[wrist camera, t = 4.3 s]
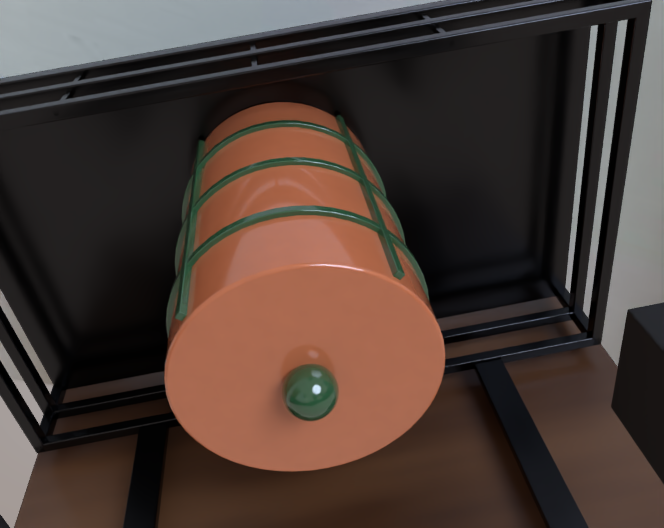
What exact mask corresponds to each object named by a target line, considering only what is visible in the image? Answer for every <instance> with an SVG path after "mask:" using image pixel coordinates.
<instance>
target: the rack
mask: <svg viewBox="0 0 664 528" xmlns="http://www.w3.org/2000/svg"><path fill="white" fill-rule="evenodd" d="M559 308H563V306H562V305H561V304H560V302H559V301H558V299H557V298H556V296H555V297H550V298H545V299H539V300H534V301H529V302H524V303H518V304H513V305H508V306H503V307H498V308H492V309H487V310H482V311H477V312H471V313H466V314H461V315H456V316H450V317H445V318H440V319H437V321H438V324H439V326H440V329H441V331H444V330H449V329H454V328H460V327H465V326H470V325H475V324H480V323H486V322H491V321H496V320H501V319H507V318H512V317H517V316H522V315H527V314H533V313H538V312H543V311H548V310H554V309H559ZM579 333H581V332H580V330H579V329H578V327H577V326H576V325H575V323H574V322H573V320H570V321H565V322H560V323H555V324H549V325H544V326H539V327H534V328H529V329H523V330H518V331H513V332H508V333H503V334H497V335H492V336H487V337H482V338H476V339H471V340H466V341H461V342H456V343H450V344H445V352H446V354H445V359H449V358H454V357H460V356H465V355H470V354H475V353H480V352H486V351H491V350H496V349H501V348H506V347H511V346H517V345H522V344H527V343H532V342H537V341H543V340H548V339H553V338H558V337H563V336H569V335H574V334H579ZM504 365H505V367H506V369H507V371H508V373H509V375H510V377H511V379H512V380H513V382H514V384H515V386H516V388H517V390H518V392H519V394H520V396H521V398H522V400H523V402H524V404H525V406H526V407H527V409H528V411H529V413H530V415H531V417H532V419H533V421H534V423H535V425H536V427H537V429H538V431H539V433H540V434H541V436H542V438H543V440H544V442H545V444H546V446H547V448H548V450H549V452H550V454H551V456H552V458H553V460H554V461H555V463H556V465H557V467H558V469H559V471H560V473H561V475H562V477H563V479H564V481H565V483H566V485H567V487H568V488H569V490H570V492H571V494H572V496H573V498H574V500H575V502H576V504H577V506H578V508H579V510H580V512H581V514H582V516H583V517H584V519H585V521H586V523H587V525H588V527H589V528H664V484H663V483H662V481H661V480H660V478H659V477H658V475H657V474H656V472H655V471H654V470H653V468H652V467H651V465H650V464H649V462H648V461H647V459H646V458H645V456H644V455H643V453H642V452H641V450H640V449H639V447H638V446H637V445H636V443H635V442H634V440H633V439H632V437H631V436H630V434H629V433H628V431H627V430H626V428H625V427H624V425H623V424H622V422H621V421H620V420H619V418H618V417H617V415H616V414H615V412H614V411H613V409H612V408H611V403H612V398H613V392H614V386H615V380H616V375H617V369H618V367H617V365H616V364H615V363H614V361H613V360H612V359H611V357H610V356H609V355H608V353H607V352H606V350H605V349H604V348H603V346H602V345H601V344H600V345H595V346H590V347H585V348H579V349H574V350H569V351H564V352H559V353H554V354H548V355H543V356H538V357H533V358H528V359H523V360H517V361H512V362H507V363H504ZM162 384H164V371H162V372H157V373H152V374H146V375H141V376H136V377H131V378H125V379H120V380H115V381H110V382H104V383H99V384H94V385H89V386H83V387H78V388H73V389H68V390H67V391H66V394H65V397H64V400H63V403H68V402H73V401H78V400H83V399H89V398H94V397H99V396H104V395H110V394H115V393H120V392H125V391H130V390H136V389H141V388H146V387H151V386H157V385H162ZM169 412H173V411H172V409H171V407H170V405H169V402H168V399H167V398H164V399H159V400H154V401H149V402H143V403H138V404H133V405H128V406H123V407H117V408H112V409H107V410H102V411H96V412H91V413H86V414H81V415H76V416H70V417H65V418H60V419H58V420H57V423H56V426H55V429H54V433H53V435H55V434H60V433H65V432H71V431H76V430H81V429H86V428H91V427H97V426H102V425H107V424H112V423H117V422H122V421H128V420H133V419H138V418H143V417H148V416H154V415H159V414H164V413H169ZM137 439H138V434H135V435H130V436H125V437H120V438H114V439H109V440H104V441H99V442H94V443H89V444H83V445H78V446H73V447H68V448H63V449H58V450H52V451H47V452H42V453H38V455H37V459H36V462H35V465H34V468H33V471H32V474H31V477H30V480H29V483H28V486H27V489H26V492H25V495H24V499H23V502H22V505H21V508H20V511H19V514H18V517H17V520H16V523H15V526H14V528H123V524H124V517H125V511H126V505H127V499H128V493H129V487H130V481H131V475H132V469H133V463H134V457H135V451H136V445H137ZM158 528H546V526H545V523H544V521H543V519H542V517H541V515H540V512H539V510H538V508H537V506H536V504H535V501H534V499H533V497H532V495H531V493H530V491H529V488H528V486H527V484H526V482H525V480H524V477H523V475H522V473H521V471H520V469H519V466H518V464H517V462H516V460H515V458H514V455H513V453H512V451H511V449H510V447H509V444H508V442H507V440H506V438H505V436H504V434H503V431H502V429H501V427H500V425H499V423H498V420H497V418H496V416H495V414H494V412H493V409H492V407H491V405H490V403H489V401H488V398H487V396H486V394H485V392H484V390H483V387H482V385H481V383H480V381H479V379H478V377H477V374H476V372H475V370H474V369H471V370H466V371H461V372H455V373H450V374H445V375H443V378H442V382H441V384H440V387H439V389H438V392H437V394H436V396H435V398H434V400H433V401H432V403H431V405H430V406H429V408H428V409H427V410H426V412H425V413H424V414H423V416H422V417H421V418H420V419H419V420H418V422H417V423H416V424H415V425H414V426H412V427H411V428H410V429H409V430H408V431H407V432H405V433H404V434H403V435H402V436H401V437H399V438H398V439H396V440H395V441H393V442H392V443H390V444H389V445H388V446H386V447H384V448H382V449H380V450H378V451H377V452H375V453H373V454H370V455H368V456H366V457H363V458H361V459H359V460H356V461H353V462H350V463H347V464H344V465H339V466H335V467H331V468H326V469H320V470H313V471H300V472H280V471H270V470H262V469H257V468H252V467H248V466H244V465H241V464H238V463H234V462H232V461H230V460H227V459H225V458H222V457H220V456H218V455H216V454H215V453H213V452H211V451H209V450H208V449H206V448H205V447H203V446H202V445H201V444H199V443H198V442H197V441H195V440H194V439H193V438H192V437H191V436H190V435H189V434H188V433H187V432H186V431H185V430H184V428H183V427H182V426H176V427H171V428H169V434H168V443H167V452H166V461H165V470H164V478H163V487H162V496H161V505H160V514H159V522H158Z"/></svg>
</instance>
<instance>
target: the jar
mask: <svg viewBox="0 0 664 528" xmlns="http://www.w3.org/2000/svg"><path fill="white" fill-rule="evenodd" d="M175 270H176V279H175V281H174V283H173V286H172V288H171V291H170V296H169V300H168V304H167V315H166V327H167V336H168V344H167V352H166V359H165V369H164V384H165V392H166V395H167V399H168V402H169V405H170V407H171V409H172V411H173V413H174V415H175V417H176V419H177V420H178V422H179V423H180V424H181V426H182V427H183V428H184V430H185V431H186V432H187V433H188V434H189V435H190V436H191V437H192V438H193V439H194V440H195V441H197V442H198V443H199V444H201V445H202V446H203V447H205V448H206V449H208V450H209V451H211V452H213V453H215V454H216V455H218V456H220V457H222V458H225V459H227V460H230V461H232V462H234V463H238V464H241V465H244V466H248V467H252V468H257V469H262V470H270V471H280V472H300V471H313V470H320V469H326V468H331V467H335V466H339V465H344V464H347V463H350V462H353V461H356V460H359V459H361V458H363V457H366V456H368V455H370V454H373V453H375V452H377V451H378V450H380V449H382V448H384V447H386V446H388V445H389V444H390V443H392V442H393V441H395V440H396V439H398V438H399V437H401V436H402V435H403V434H404V433H405V432H407V431H408V430H409V429H410V428H411V427H412V426H414V425H415V424H416V423H417V422H418V420H419V419H420V418H421V417H422V416H423V414H424V413H425V412H426V410H427V409H428V408H429V406H430V405H431V403H432V401H433V400H434V398H435V396H436V394H437V392H438V389H439V387H440V384H441V382H442V378H443V373H444V368H445V354H446V352H445V345H444V338H443V335H442V332H441V329H440V326H439V324H438V321H437V319H436V317H435V314H434V312H433V309H432V307H431V305H430V302H429V295H428V288H427V285H426V281H425V278H424V275H423V273H422V270H421V268H420V266H419V265H418V263H417V261H416V259H415V257H414V256H413V254H412V253H411V252H410V250H409V249H408V248H407V246H406V244H405V238H404V232H403V229H402V226H401V223H400V220H399V218H398V216H397V214H396V212H395V210H394V208H393V206H392V205H391V203H390V202H389V201H388V199H387V197H386V192H385V188H384V185H383V182H382V179H381V177H380V175H379V173H378V171H377V169H376V167H375V165H374V164H373V162H372V161H371V160H370V158H369V157H368V155H367V154H366V152H365V150H364V148H363V146H362V144H361V143H360V141H359V140H358V138H357V137H356V136H355V134H354V133H353V132H352V131H351V130H350V129H349V128H348V127H347V126H346V124H345V122H344V119H343V117H341V116H340V115H338V116H337V117H336V118H335V117H334V116H332V115H330V114H329V113H327V112H325V111H322V110H320V109H318V108H315V107H312V106H308V105H305V104H299V103H292V102H275V103H266V104H261V105H257V106H253V107H250V108H248V109H245V110H242V111H240V112H238V113H236V114H235V115H233V116H231V117H229V118H228V119H226V120H225V121H224V122H222V123H221V124H220V125H218V126H217V127H216V128H215V129H214V130H213V131H212V132H211V133H210V134H209V136H208V137H207V138H206V140H205V141H202V140H199V142H198V143H197V149H196V157H195V160H194V163H193V166H192V171H191V175H190V179H189V181H188V184H187V186H186V189H185V193H184V198H183V203H182V227H181V229H180V232H179V236H178V240H177V244H176V251H175Z"/></svg>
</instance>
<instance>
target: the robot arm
mask: <svg viewBox="0 0 664 528" xmlns="http://www.w3.org/2000/svg"><path fill="white" fill-rule="evenodd" d="M611 408H612V409H613V411H614V412H615V414H616V415H617V417H618V418H619V420H620V421H621V422H622V424H623V425H624V427H625V428H626V430H627V431H628V433H629V434H630V436H631V437H632V439H633V440H634V442H635V443H636V445H637V446H638V447H639V449H640V450H641V452H642V453H643V455H644V456H645V458H646V459H647V461H648V462H649V464H650V465H651V467H652V468H653V470H654V471H655V472H656V474H657V475H658V477H659V478H660V480H661V481H662V483H663V484H664V303H659V304H654V305H649V306H644V307H639V308H634V309H629V310H628V312H627V317H626V323H625V329H624V335H623V340H622V346H621V352H620V357H619V363H618V369H617V375H616V380H615V386H614V392H613V398H612V403H611ZM0 528H10V527H9V526H8V524H7V523H6V522H5V520H4V519H3V518H2V516H1V515H0Z"/></svg>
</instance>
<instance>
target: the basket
mask: <svg viewBox="0 0 664 528" xmlns="http://www.w3.org/2000/svg"><path fill="white" fill-rule="evenodd" d="M651 5H652V0H444V1H439V2H433V3H427V4H422V5H416V6H410V7H404V8H399V9H393V10H387V11H382V12H376V13H370V14H365V15H359V16H353V17H348V18H342V19H336V20H330V21H325V22H319V23H313V24H308V25H302V26H296V27H291V28H285V29H279V30H274V31H268V32H262V33H256V34H251V35H245V36H239V37H234V38H228V39H222V40H217V41H211V42H205V43H200V44H194V45H188V46H182V47H177V48H171V49H165V50H160V51H154V52H148V53H143V54H137V55H131V56H126V57H120V58H114V59H109V60H103V61H97V62H91V63H86V64H80V65H74V66H69V67H63V68H57V69H52V70H46V71H40V72H35V73H29V74H23V75H17V76H12V77H6V78H0V289H1V291H2V293H3V294H4V296H5V298H6V300H7V302H8V303H9V305H10V307H11V309H12V311H13V312H14V314H15V316H16V318H17V320H18V321H19V323H20V325H21V327H22V329H23V330H24V332H25V334H26V336H27V338H28V339H29V341H30V343H31V345H32V347H33V349H34V350H35V352H36V354H37V356H38V358H39V359H40V361H41V363H42V365H43V367H44V368H45V370H46V372H47V374H48V376H49V377H50V379H51V381H52V383H53V388H52V391H51V394H50V393H49V391H48V389H47V388H46V386H45V384H44V382H43V380H42V379H41V377H40V375H39V373H38V372H37V370H36V368H35V366H34V365H33V363H32V361H31V359H30V358H29V356H28V354H27V352H26V350H25V349H24V347H23V345H22V343H21V342H20V340H19V338H18V336H17V335H16V333H15V331H14V329H13V328H12V326H11V324H10V322H9V320H8V319H7V317H6V315H5V313H4V312H3V310H2V308H1V306H0V341H1V343H2V344H3V346H4V348H5V349H6V351H7V353H8V354H9V356H10V358H11V359H12V361H13V363H14V365H15V366H16V368H17V370H18V371H19V373H20V375H21V376H22V378H23V380H24V381H25V383H26V385H27V386H28V388H29V390H30V392H31V393H32V395H33V396H34V398H35V400H36V402H37V403H38V405H39V407H40V409H41V410H42V412H43V414H44V415H43V418H42V421H41V424H40V425H39V424H38V422H37V420H36V419H35V417H34V415H33V414H32V412H31V410H30V409H29V407H28V406H27V404H26V402H25V401H24V399H23V397H22V396H21V394H20V392H19V391H18V389H17V388H16V386H15V384H14V382H13V381H12V379H11V377H10V376H9V374H8V372H7V371H6V369H5V367H4V366H3V364H2V363H1V361H0V396H1V397H2V399H3V400H4V402H5V403H6V405H7V407H8V408H9V410H10V411H11V413H12V414H13V416H14V418H15V419H16V421H17V422H18V424H19V426H20V427H21V429H22V430H23V432H24V433H25V435H26V437H27V438H28V440H29V441H30V443H31V445H32V446H33V448H34V449H35V451H36V452H37V453H42V452H47V451H52V450H58V449H63V448H68V447H73V446H78V445H83V444H89V443H94V442H99V441H104V440H109V439H114V438H120V437H125V436H130V435H135V434H138V439H137V445H136V451H135V457H134V463H133V469H132V475H131V481H130V487H129V493H128V499H127V505H126V511H125V517H124V524H123V528H158V522H159V514H160V505H161V496H162V487H163V478H164V470H165V461H166V452H167V443H168V434H169V428H171V427H176V426H181V424H180V423H179V422H178V420H177V419H176V417H175V415H174V413H173V412H169V413H164V414H159V415H154V416H148V417H143V418H138V419H133V420H128V421H122V422H117V423H112V424H107V425H102V426H97V427H91V428H86V429H81V430H76V431H71V432H65V433H60V434H55V435H53V433H54V429H55V426H56V423H57V420H58V419H60V418H65V417H70V416H76V415H81V414H86V413H91V412H96V411H102V410H107V409H112V408H117V407H123V406H128V405H133V404H138V403H143V402H149V401H154V400H159V399H164V398H167V395H166V392H165V384H162V385H157V386H151V387H146V388H141V389H136V390H130V391H125V392H120V393H115V394H110V395H104V396H99V397H94V398H89V399H83V400H78V401H73V402H68V403H63V400H64V397H65V394H66V391H67V390H68V389H73V388H78V387H83V386H89V385H94V384H99V383H104V382H110V381H115V380H120V379H125V378H131V377H136V376H141V375H146V374H152V373H157V372H162V371H164V369H165V359H166V352H167V344H168V336H167V327H166V315H167V304H168V300H169V296H170V291H171V288H172V286H173V283H174V281H175V279H176V270H175V251H176V244H177V240H178V236H179V232H180V229H181V227H182V203H183V198H184V193H185V189H186V186H187V184H188V181H189V179H190V175H191V171H192V166H193V163H194V160H195V157H196V149H197V143H198V142H199V140H202V141H205V140H206V138H207V137H208V136H209V134H210V133H211V132H212V131H213V130H214V129H215V128H216V127H217V126H218V125H220V124H221V123H222V122H224V121H225V120H226V119H228V118H229V117H231V116H233V115H235V114H236V113H238V112H240V111H242V110H245V109H248V108H250V107H253V106H257V105H261V104H266V103H275V102H292V103H299V104H305V105H308V106H312V107H315V108H318V109H320V110H322V111H325V112H327V113H329V114H330V115H332V116H334V117H335V118H336V117H337V116H338V115H340V116H341V117H343V119H344V122H345V124H346V126H347V127H348V128H349V129H350V130H351V131H352V132H353V133H354V134H355V136H356V137H357V138H358V140H359V141H360V143H361V144H362V146H363V148H364V150H365V152H366V154H367V155H368V157H369V158H370V160H371V161H372V162H373V164H374V165H375V167H376V169H377V171H378V173H379V175H380V177H381V179H382V182H383V185H384V188H385V192H386V197H387V199H388V201H389V202H390V203H391V205H392V206H393V208H394V210H395V212H396V214H397V216H398V218H399V220H400V223H401V226H402V229H403V232H404V238H405V244H406V246H407V248H408V249H409V250H410V252H411V253H412V254H413V256H414V257H415V259H416V261H417V263H418V265H419V266H420V268H421V270H422V273H423V275H424V278H425V281H426V285H427V288H428V295H429V302H430V305H431V307H432V309H433V312H434V314H435V317H436V319H440V318H445V317H450V316H456V315H461V314H466V313H471V312H477V311H482V310H487V309H492V308H498V307H503V306H508V305H513V304H518V303H524V302H529V301H534V300H539V299H545V298H550V297H555V296H556V298H557V299H558V301H559V302H560V304H561V305H562V306H563V308H559V309H554V310H548V311H543V312H538V313H533V314H527V315H522V316H517V317H512V318H507V319H501V320H496V321H491V322H486V323H480V324H475V325H470V326H465V327H460V328H454V329H449V330H444V331H441V332H442V335H443V338H444V345H445V344H450V343H456V342H461V341H466V340H471V339H476V338H482V337H487V336H492V335H497V334H503V333H508V332H513V331H518V330H523V329H529V328H534V327H539V326H544V325H549V324H555V323H560V322H565V321H570V320H573V322H574V323H575V325H576V326H577V327H578V329H579V330H580V332H581V333H579V334H574V335H569V336H563V337H558V338H553V339H548V340H543V341H537V342H532V343H527V344H522V345H517V346H511V347H506V348H501V349H496V350H491V351H486V352H480V353H475V354H470V355H465V356H460V357H454V358H449V359H445V368H444V373H443V375H445V374H450V373H455V372H461V371H466V370H471V369H474V370H475V372H476V374H477V377H478V379H479V381H480V383H481V385H482V387H483V390H484V392H485V394H486V396H487V398H488V401H489V403H490V405H491V407H492V409H493V412H494V414H495V416H496V418H497V420H498V423H499V425H500V427H501V429H502V431H503V434H504V436H505V438H506V440H507V442H508V444H509V447H510V449H511V451H512V453H513V455H514V458H515V460H516V462H517V464H518V466H519V469H520V471H521V473H522V475H523V477H524V480H525V482H526V484H527V486H528V488H529V491H530V493H531V495H532V497H533V499H534V501H535V504H536V506H537V508H538V510H539V512H540V515H541V517H542V519H543V521H544V523H545V526H546V528H589V527H588V525H587V523H586V521H585V519H584V517H583V516H582V514H581V512H580V510H579V508H578V506H577V504H576V502H575V500H574V498H573V496H572V494H571V492H570V490H569V488H568V487H567V485H566V483H565V481H564V479H563V477H562V475H561V473H560V471H559V469H558V467H557V465H556V463H555V461H554V460H553V458H552V456H551V454H550V452H549V450H548V448H547V446H546V444H545V442H544V440H543V438H542V436H541V434H540V433H539V431H538V429H537V427H536V425H535V423H534V421H533V419H532V417H531V415H530V413H529V411H528V409H527V407H526V406H525V404H524V402H523V400H522V398H521V396H520V394H519V392H518V390H517V388H516V386H515V384H514V382H513V380H512V379H511V377H510V375H509V373H508V371H507V369H506V367H505V365H504V363H507V362H512V361H517V360H523V359H528V358H533V357H538V356H543V355H548V354H554V353H559V352H564V351H569V350H574V349H579V348H585V347H590V346H595V345H600V344H601V340H602V333H603V327H604V320H605V313H606V306H607V300H608V293H609V286H610V280H611V273H612V266H613V260H614V253H615V246H616V239H617V233H618V226H619V219H620V213H621V206H622V199H623V193H624V186H625V179H626V172H627V166H628V159H629V152H630V146H631V139H632V132H633V126H634V119H635V112H636V105H637V99H638V92H639V85H640V79H641V72H642V65H643V58H644V52H645V45H646V38H647V32H648V25H649V18H650V12H651ZM627 19H628V21H627V29H626V37H625V44H624V52H623V60H622V67H621V75H620V83H619V90H618V98H617V106H616V113H615V121H614V129H613V137H612V144H611V152H610V160H609V167H608V175H607V183H606V190H605V198H604V206H603V213H602V221H601V229H600V236H599V244H598V252H597V259H596V267H595V275H594V282H593V290H592V298H591V306H590V313H589V319H588V317H587V316H586V315H585V313H584V312H583V304H584V296H585V287H586V279H587V271H588V263H589V255H590V246H591V238H592V230H593V222H594V213H595V205H596V197H597V189H598V181H599V172H600V164H601V156H602V148H603V139H604V131H605V123H606V115H607V107H608V98H609V90H610V82H611V74H612V65H613V57H614V49H615V41H616V33H617V24H618V21H621V20H627ZM593 25H598V32H597V41H596V51H595V60H594V70H593V80H592V89H591V99H590V108H589V118H588V127H587V137H586V146H585V156H584V166H583V175H582V185H581V194H580V204H579V213H578V223H577V232H576V242H575V252H574V261H573V271H572V280H571V290H570V293H569V292H568V290H567V289H566V288H565V284H566V274H567V264H568V253H569V243H570V233H571V223H572V213H573V203H574V192H575V182H576V172H577V162H578V152H579V141H580V131H581V121H582V111H583V101H584V91H585V80H586V70H587V60H588V50H589V40H590V29H591V26H593Z"/></svg>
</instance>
